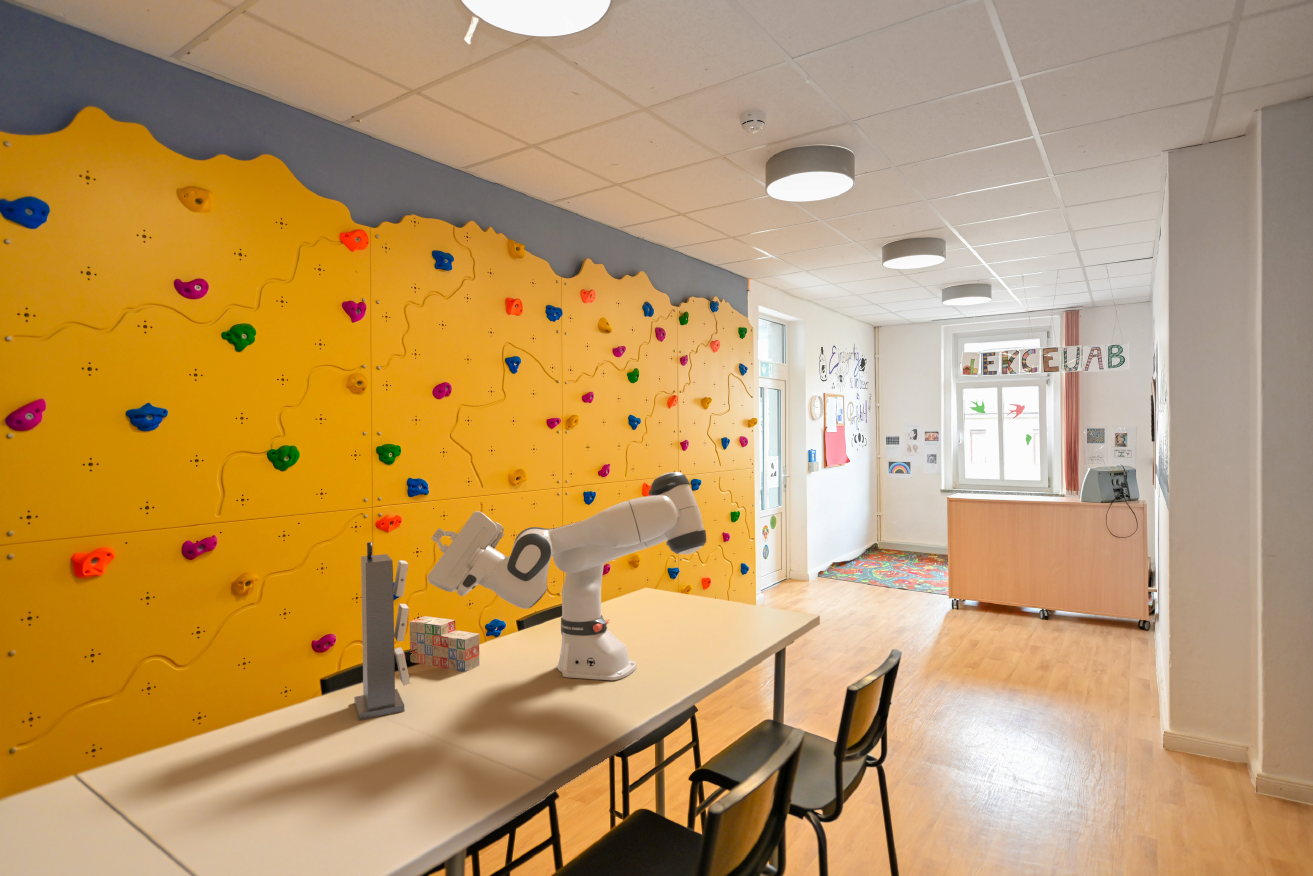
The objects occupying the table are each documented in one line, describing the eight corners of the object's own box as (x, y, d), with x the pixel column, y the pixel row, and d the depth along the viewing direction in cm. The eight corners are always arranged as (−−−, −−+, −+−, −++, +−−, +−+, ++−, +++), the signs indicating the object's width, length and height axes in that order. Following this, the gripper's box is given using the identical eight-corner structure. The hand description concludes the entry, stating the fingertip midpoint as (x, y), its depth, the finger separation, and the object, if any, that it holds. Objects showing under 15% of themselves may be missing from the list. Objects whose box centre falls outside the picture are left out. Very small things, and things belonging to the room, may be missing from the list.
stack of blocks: (480, 665, 193) (479, 623, 193) (465, 672, 187) (464, 628, 187) (425, 655, 202) (424, 615, 202) (409, 662, 197) (408, 620, 197)
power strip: (396, 694, 171) (394, 537, 171) (404, 711, 161) (401, 543, 161) (354, 702, 166) (351, 540, 166) (359, 720, 156) (356, 547, 156)
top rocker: (400, 592, 169) (405, 560, 169) (403, 596, 164) (409, 563, 165) (393, 592, 168) (398, 560, 168) (396, 596, 163) (401, 563, 164)
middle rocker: (401, 635, 169) (406, 604, 169) (404, 641, 164) (410, 608, 165) (393, 635, 168) (399, 603, 168) (396, 641, 163) (402, 608, 164)
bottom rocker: (407, 676, 169) (401, 646, 169) (411, 683, 165) (404, 652, 164) (400, 679, 169) (394, 649, 168) (403, 686, 164) (397, 655, 163)
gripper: (509, 526, 164) (461, 495, 163) (460, 597, 154) (408, 565, 153) (505, 532, 170) (459, 503, 169) (458, 602, 160) (408, 571, 158)
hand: (434, 533), depth 161 cm, fingers closed
